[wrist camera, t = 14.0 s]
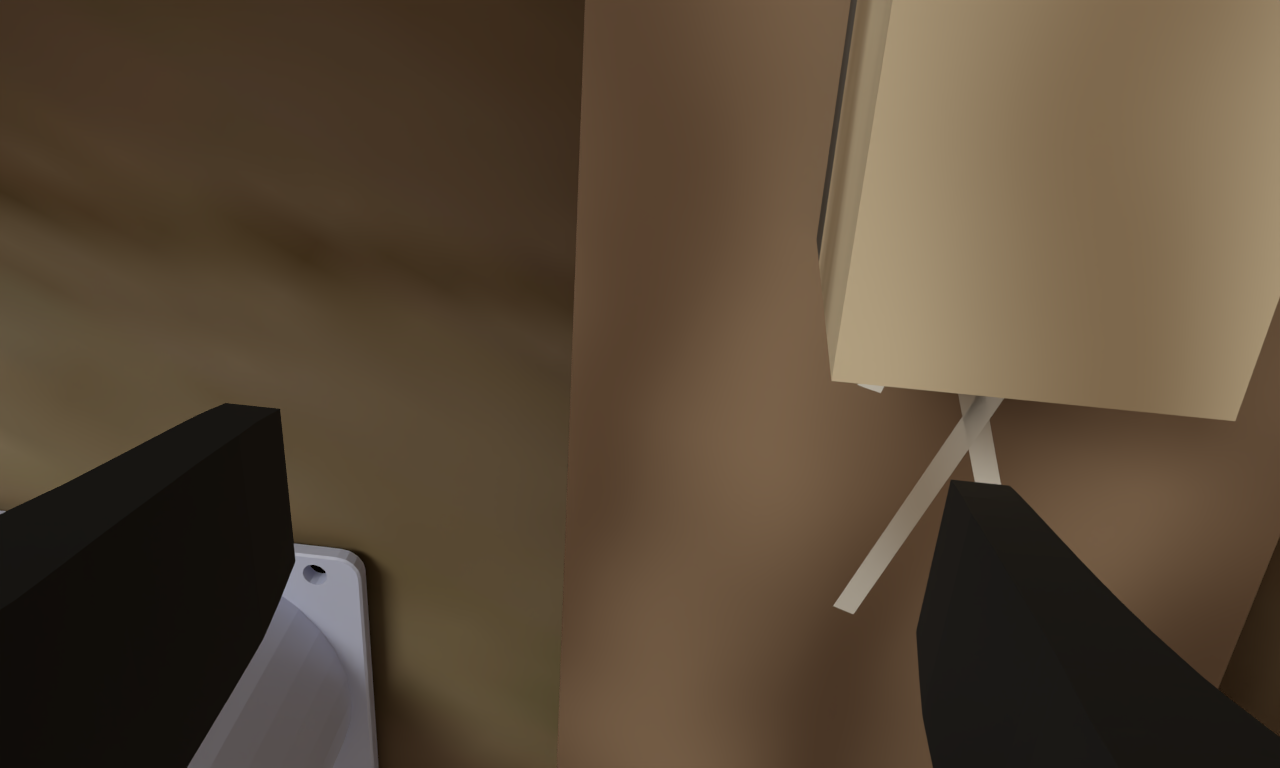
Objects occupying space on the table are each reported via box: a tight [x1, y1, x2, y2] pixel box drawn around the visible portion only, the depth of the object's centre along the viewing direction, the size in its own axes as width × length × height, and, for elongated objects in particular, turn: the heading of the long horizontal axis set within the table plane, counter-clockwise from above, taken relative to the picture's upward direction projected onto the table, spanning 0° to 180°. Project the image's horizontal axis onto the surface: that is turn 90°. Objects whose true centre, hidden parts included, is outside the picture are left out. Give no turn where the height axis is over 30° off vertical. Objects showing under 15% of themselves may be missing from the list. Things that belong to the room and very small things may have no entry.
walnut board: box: [557, 0, 1280, 768], centre depth 21 cm, size 13×26×2 cm, turn 177°
